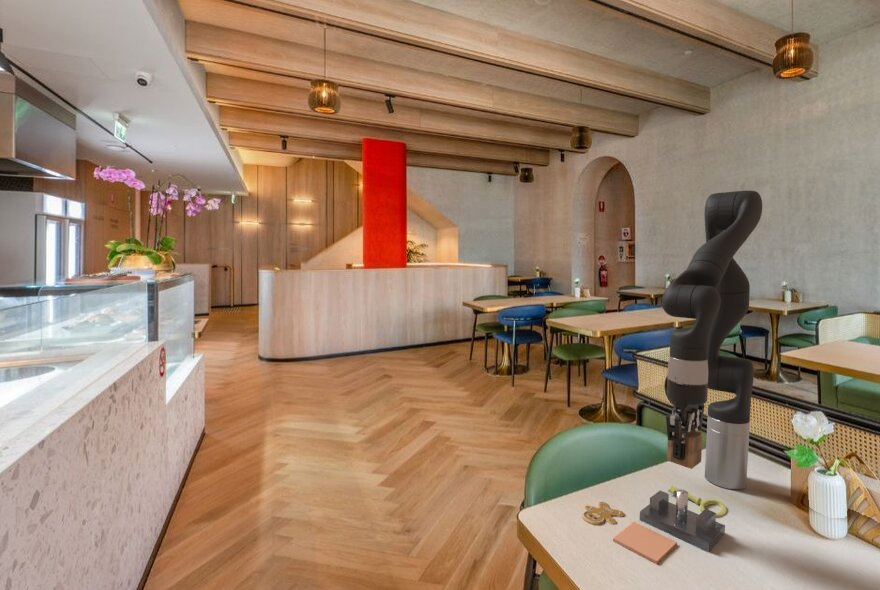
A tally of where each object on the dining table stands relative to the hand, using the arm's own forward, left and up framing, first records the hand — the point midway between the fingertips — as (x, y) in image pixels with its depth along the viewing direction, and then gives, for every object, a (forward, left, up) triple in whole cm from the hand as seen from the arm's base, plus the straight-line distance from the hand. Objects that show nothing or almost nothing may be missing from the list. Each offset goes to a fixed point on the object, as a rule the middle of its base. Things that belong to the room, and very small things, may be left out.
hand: (684, 454), depth 93 cm
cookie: (+9, -14, -17) cm, 24 cm away
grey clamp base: (0, 0, -16) cm, 16 cm away
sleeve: (0, 0, -1) cm, 1 cm away
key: (-13, -1, -17) cm, 21 cm away
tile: (+12, -2, -16) cm, 20 cm away
